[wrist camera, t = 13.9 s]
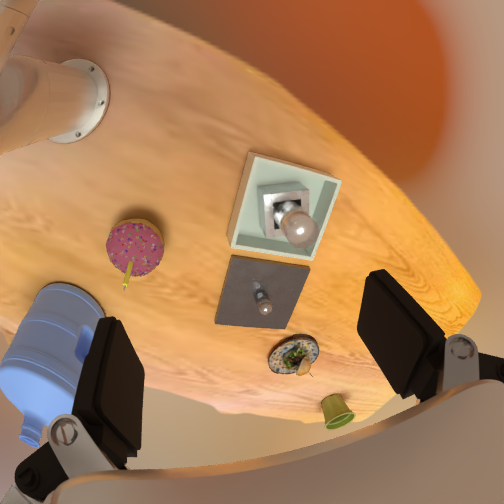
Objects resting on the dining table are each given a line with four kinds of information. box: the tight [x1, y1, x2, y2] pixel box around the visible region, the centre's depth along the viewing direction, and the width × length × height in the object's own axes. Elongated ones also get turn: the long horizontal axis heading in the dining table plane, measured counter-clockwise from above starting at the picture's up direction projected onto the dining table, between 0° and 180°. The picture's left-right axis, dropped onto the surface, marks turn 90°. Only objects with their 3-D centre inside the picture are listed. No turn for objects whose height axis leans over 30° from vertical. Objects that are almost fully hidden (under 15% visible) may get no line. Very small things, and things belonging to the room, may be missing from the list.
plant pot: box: [322, 394, 356, 430], centre depth 72 cm, size 9×9×9 cm
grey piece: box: [257, 182, 319, 249], centre depth 39 cm, size 6×6×11 cm
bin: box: [227, 151, 342, 261], centre depth 42 cm, size 13×13×5 cm
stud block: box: [214, 255, 310, 329], centre depth 50 cm, size 14×14×5 cm
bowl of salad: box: [268, 334, 319, 377], centre depth 58 cm, size 12×12×8 cm
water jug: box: [0, 283, 105, 447], centre depth 34 cm, size 16×16×28 cm
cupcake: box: [106, 219, 164, 291], centre depth 37 cm, size 9×8×12 cm
